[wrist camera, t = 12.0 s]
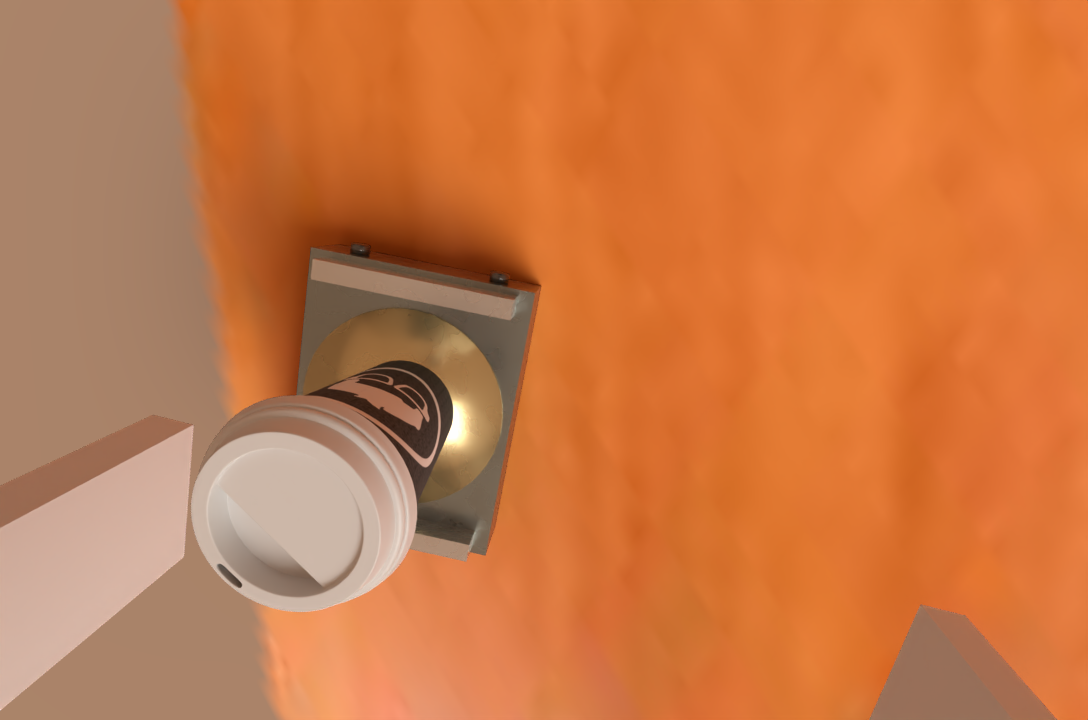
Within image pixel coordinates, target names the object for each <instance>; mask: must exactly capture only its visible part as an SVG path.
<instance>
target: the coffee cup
mask: <svg viewBox="0 0 1088 720" xmlns="http://www.w3.org/2000/svg"><path fill="white" fill-rule="evenodd" d="M453 414H454V413H453V403H452V399H451V396H450V394H449V391H448V389H447V388H446V386H445V384H444V383H443V382H442V380H441V379H440V378H439V377H438V376H437V375H436V374H435V373H433V372H432V371H431V370H429V369H428V368H426V367H424V366H422V365H420V364H417V363H414V362H411V361H404V360H396V361H389V362H385V363H382V364H380V365H377V366H375V367H372V368H370V369H368V370H365V371H363V372H360V373H358V374H355V375H353V376H351V377H348V378H346V379H343V380H341V381H338V382H336V383H334V384H331V385H329V386H326V387H324V388H321V389H319V390H316V391H314V392H312V393H309V394H307V395H304V396H302V395H289V396H279V397H274V398H270V399H266V400H263V401H260V402H258V403H255V404H253V405H251V406H249V407H247V408H245V409H244V410H242V411H241V412H239V413H238V414H237V415H235V416H234V417H233V418H232V419H231V420H230V421H228V422H227V424H226V425H225V426H224V427H223V428H222V429H221V430H220V432H219V433H218V434H217V436H216V437H215V438H214V440H213V441H212V443H211V444H210V446H209V448H208V450H207V452H206V454H205V456H204V459H203V461H202V464H201V467H200V470H199V473H198V477H197V479H196V482H195V485H194V488H193V492H192V499H191V518H192V524H193V528H194V533H195V536H196V539H197V541H198V544H199V546H200V548H201V550H202V552H203V554H204V556H205V558H206V559H207V561H208V562H209V564H210V565H211V566H212V568H213V569H214V570H215V571H216V573H217V574H218V575H220V577H221V578H222V579H223V580H224V581H225V582H226V583H227V584H229V585H230V586H231V587H232V588H234V589H235V590H236V591H238V592H239V593H241V594H242V595H244V596H245V597H247V598H249V599H251V600H253V601H255V602H257V603H260V604H262V605H265V606H268V607H271V608H274V609H279V610H284V611H293V612H307V611H316V610H321V609H325V608H328V607H331V606H334V605H336V604H339V603H343V602H346V601H349V600H351V599H354V598H356V597H358V596H361V595H363V594H365V593H367V592H368V591H370V590H372V589H373V588H375V587H376V586H377V585H379V584H380V583H381V582H383V581H384V580H385V579H386V578H388V577H389V576H390V575H391V574H392V573H393V572H394V571H395V570H396V568H397V567H398V566H399V565H400V563H401V562H402V561H403V559H404V557H405V556H406V554H407V552H408V550H409V548H410V546H411V543H412V540H413V537H414V533H415V529H416V522H417V504H418V501H419V499H420V497H421V494H422V492H423V490H424V488H425V485H426V483H427V481H428V479H429V477H430V474H431V472H432V470H433V468H434V465H435V463H436V461H437V459H438V456H439V454H440V452H441V450H442V448H443V445H444V443H445V441H446V439H447V436H448V434H449V432H450V429H451V427H452V423H453Z"/></svg>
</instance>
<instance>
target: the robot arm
mask: <svg viewBox="0 0 1088 720" xmlns="http://www.w3.org/2000/svg"><path fill="white" fill-rule="evenodd" d="M192 439H193V424H189V423H184V422H180V421H176V420H172V419H168V418H164V417H160V416H156V415H151V416H149V417H147V418H145V419H143V420H141V421H138V422H136V423H134V424H132V425H130V426H128V427H126V428H123V429H121V430H119V431H117V432H115V433H113V434H110V435H108V436H106V437H104V438H102V439H100V440H98V441H95V442H93V443H91V444H89V445H87V446H85V447H82V448H80V449H78V450H76V451H74V452H72V453H69V454H67V455H65V456H63V457H61V458H59V459H57V460H54V461H52V462H50V463H48V464H46V465H44V466H41V467H39V468H37V469H35V470H33V471H31V472H29V473H26V474H25V475H22V476H20V477H18V478H16V479H14V480H11V481H9V482H7V483H5V484H3V485H1V486H0V710H1V709H2V708H3V707H5V706H6V705H7V704H8V703H10V702H11V701H12V700H13V699H14V698H16V697H17V696H18V695H19V694H20V693H22V692H23V691H24V690H25V689H26V688H28V687H29V686H30V685H31V684H32V683H34V682H35V681H36V680H37V679H38V678H40V677H41V676H42V675H43V674H44V673H46V672H47V671H48V670H49V669H50V668H51V667H52V666H54V665H55V664H56V663H57V662H59V661H60V660H61V659H62V658H63V657H65V656H66V655H67V654H68V653H69V652H71V651H72V650H73V649H74V648H75V647H76V646H78V645H79V644H80V643H81V642H83V641H84V640H85V639H86V638H87V637H89V636H90V635H91V634H92V633H93V632H94V631H95V630H97V629H98V628H99V627H100V626H102V625H103V624H104V623H105V622H106V621H108V620H109V619H110V618H111V617H112V616H114V615H115V614H116V613H117V612H118V611H120V610H121V609H122V608H123V607H124V606H126V605H127V604H128V603H129V602H130V601H132V600H133V599H134V598H135V597H136V596H137V595H139V594H140V593H141V592H142V591H143V590H145V589H146V588H147V587H148V586H149V585H151V584H152V583H153V582H154V581H155V580H157V579H158V578H159V577H160V576H161V575H163V574H164V573H165V572H166V571H167V570H169V569H170V568H171V567H172V566H173V565H174V564H176V563H177V562H178V561H179V560H181V559H182V558H183V557H184V548H185V535H186V534H185V533H186V520H187V507H188V492H189V480H190V466H191V453H192ZM869 720H1057V719H1056V718H1055V717H1054V716H1053V714H1052V713H1051V712H1050V711H1049V710H1048V709H1047V708H1046V706H1045V705H1044V704H1043V703H1042V702H1041V701H1040V700H1039V699H1038V697H1037V696H1036V695H1035V694H1034V693H1033V692H1032V691H1031V689H1030V688H1029V687H1028V686H1027V685H1026V684H1025V683H1024V682H1023V680H1022V679H1021V678H1020V677H1019V676H1018V675H1017V674H1016V672H1015V671H1014V670H1013V669H1012V668H1011V667H1010V666H1009V665H1008V663H1007V662H1006V661H1005V660H1004V659H1003V658H1002V657H1001V656H1000V654H999V653H998V652H997V651H996V650H995V649H994V648H993V646H992V645H991V644H990V643H989V642H988V641H987V640H986V639H985V637H984V636H983V635H982V634H981V633H980V632H979V631H978V629H977V628H976V627H975V626H974V625H973V624H972V623H971V622H970V620H969V619H968V618H967V617H966V616H965V615H961V614H957V613H953V612H949V611H945V610H941V609H937V608H933V607H929V606H925V605H920V607H919V609H918V612H917V614H916V616H915V618H914V621H913V623H912V625H911V627H910V630H909V632H908V634H907V636H906V639H905V641H904V643H903V645H902V648H901V650H900V652H899V654H898V657H897V659H896V661H895V663H894V666H893V668H892V670H891V672H890V675H889V677H888V679H887V681H886V684H885V686H884V688H883V690H882V692H881V695H880V697H879V699H878V701H877V704H876V706H875V708H874V710H873V713H872V715H871V717H870V719H869Z"/></svg>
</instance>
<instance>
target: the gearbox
mask: <svg viewBox="0 0 1088 720" xmlns="http://www.w3.org/2000/svg"><path fill="white" fill-rule="evenodd" d="M370 248H371V246H370V245H367V244H362V243H354V242H352V243H351V247H349V246H344V245H339V244H336V245H327V246H317V247H311V251H310V262H309V272H308V282H307V292H306V302H305V313H304V323H303V333H302V343H301V353H300V363H299V374H298V384H297V394H296V395H302V396H304V395H307V394H309V393H312V392H314V391H316V390H319V389H321V388H324V387H326V386H329V385H331V384H334V383H336V382H338V381H341V380H343V379H346V378H348V377H351V376H353V375H355V374H358V373H360V372H363V371H365V370H368V369H370V368H372V367H375V366H377V365H380V364H382V363H385V362H389V361H396V360H404V361H411V362H414V363H417V364H420V365H422V366H424V367H426V368H428V369H429V370H431V371H432V372H433V373H435V374H436V375H437V376H438V377H439V378H440V379H441V380H442V382H443V383H444V384H445V386H446V388H447V389H448V391H449V394H450V396H451V399H452V403H453V413H454V414H453V423H452V427H451V429H450V432H449V434H448V436H447V439H446V441H445V443H444V445H443V448H442V450H441V452H440V454H439V456H438V459H437V461H436V463H435V465H434V468H433V470H432V472H431V474H430V477H429V479H428V481H427V483H426V485H425V488H424V490H423V492H422V494H421V497H420V499H419V501H418V504H417V522H416V529H415V533H414V537H413V540H412V543H411V546H410V548H409V549H412V550H417V551H421V552H426V553H430V554H435V555H439V556H443V557H448V558H452V559H457V560H461V561H467V558H468V556H469V553H470V552H473V553H477V554H481V555H486V552H487V549H488V546H489V543H490V540H491V537H492V534H493V531H494V528H495V525H496V520H497V514H498V509H499V504H500V499H501V494H502V488H503V483H504V478H505V473H506V467H507V462H508V457H509V452H510V447H511V441H512V436H513V431H514V426H515V421H516V415H517V410H518V405H519V400H520V394H521V389H522V384H523V379H524V374H525V368H526V363H527V358H528V353H529V348H530V342H531V337H532V332H533V327H534V321H535V316H536V311H537V306H538V301H539V295H540V290H541V286H540V285H535V284H530V283H525V282H520V281H515V280H510V279H509V276H510V274H508V273H504V272H500V271H491V273H490V275H486V274H481V273H476V272H471V271H466V270H461V269H457V268H452V267H447V266H442V265H437V264H432V263H427V262H422V261H417V260H412V259H407V258H403V257H398V256H393V255H388V254H383V253H378V252H373V251H370Z"/></svg>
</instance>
